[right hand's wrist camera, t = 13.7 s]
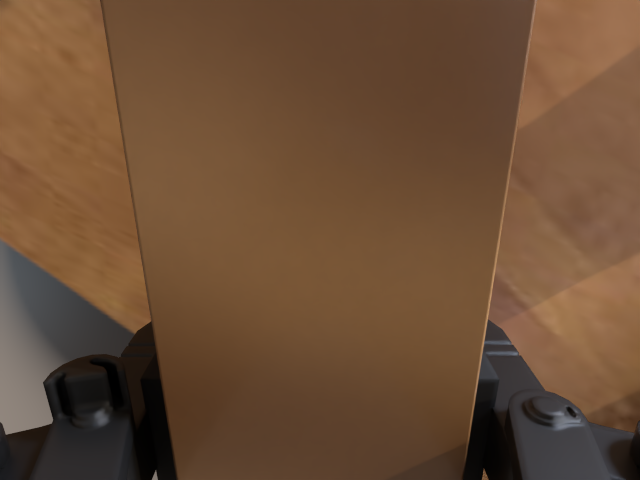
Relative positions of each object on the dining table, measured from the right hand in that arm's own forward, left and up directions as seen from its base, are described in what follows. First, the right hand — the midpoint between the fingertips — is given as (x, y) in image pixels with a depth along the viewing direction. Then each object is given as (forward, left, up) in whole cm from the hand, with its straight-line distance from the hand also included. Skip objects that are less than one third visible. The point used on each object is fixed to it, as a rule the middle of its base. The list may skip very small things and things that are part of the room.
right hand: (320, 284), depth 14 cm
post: (-15, -26, -1) cm, 30 cm away
